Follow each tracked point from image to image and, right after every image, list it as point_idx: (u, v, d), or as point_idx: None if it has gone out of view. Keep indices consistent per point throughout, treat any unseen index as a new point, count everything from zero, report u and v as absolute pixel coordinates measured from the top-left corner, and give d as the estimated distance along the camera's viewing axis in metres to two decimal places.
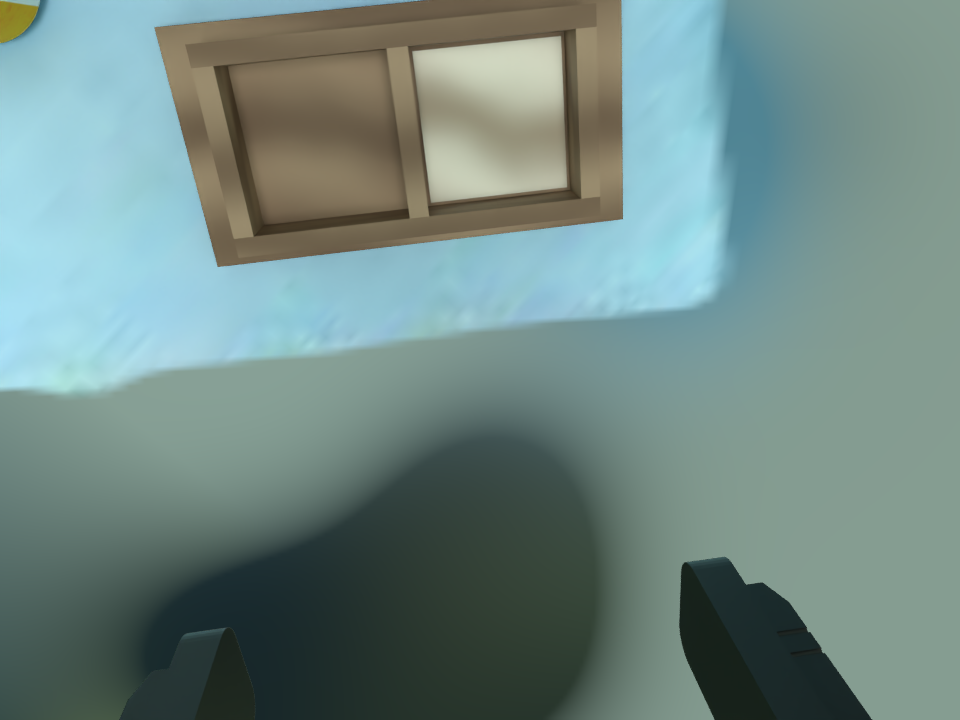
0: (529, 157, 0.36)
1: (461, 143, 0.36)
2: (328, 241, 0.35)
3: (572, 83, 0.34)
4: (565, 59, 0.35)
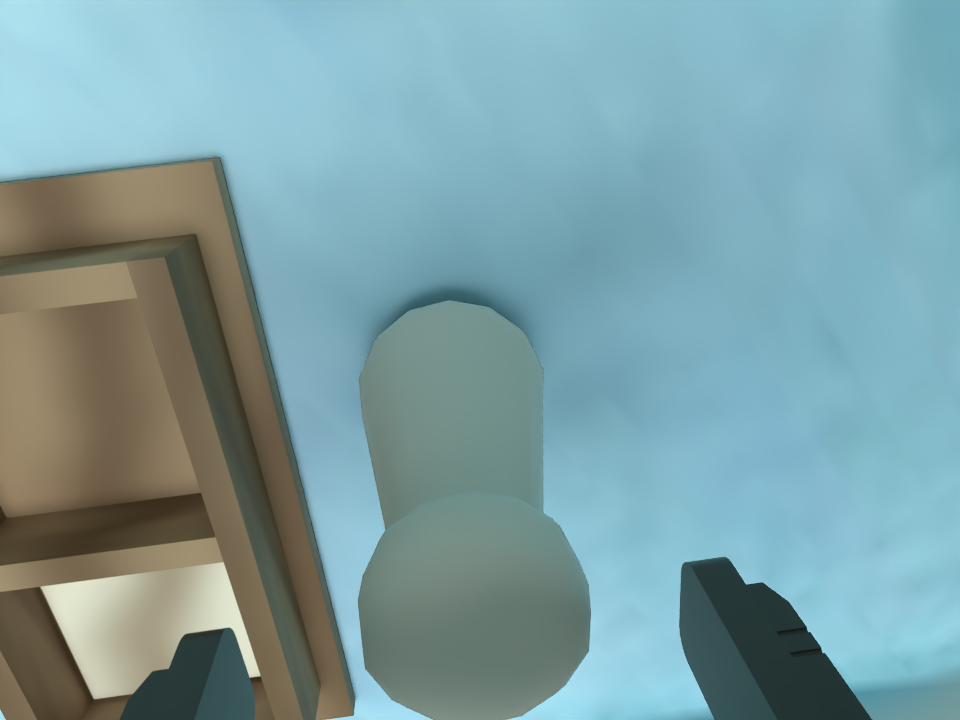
0: (124, 656, 0.26)
1: (123, 581, 0.25)
2: None
3: None
4: (258, 679, 0.27)
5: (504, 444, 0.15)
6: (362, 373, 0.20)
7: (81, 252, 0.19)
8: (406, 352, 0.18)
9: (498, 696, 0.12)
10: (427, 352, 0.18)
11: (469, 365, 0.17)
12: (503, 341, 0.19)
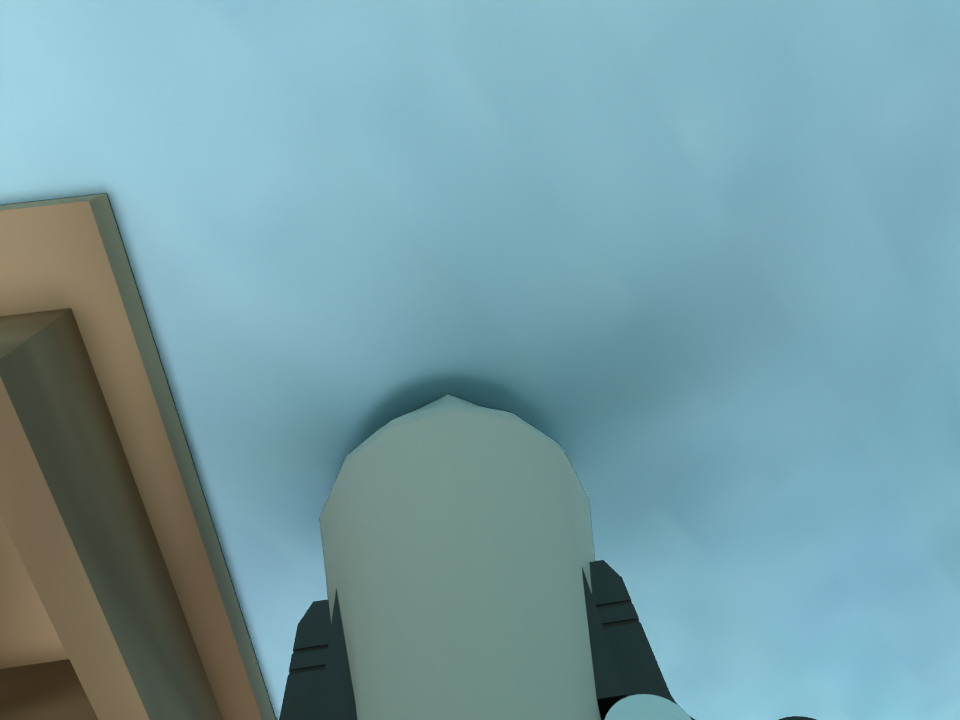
0: None
1: None
2: None
3: None
4: None
5: None
6: (324, 513, 0.14)
7: None
8: (388, 504, 0.12)
9: None
10: (421, 509, 0.11)
11: (488, 539, 0.11)
12: (536, 478, 0.12)
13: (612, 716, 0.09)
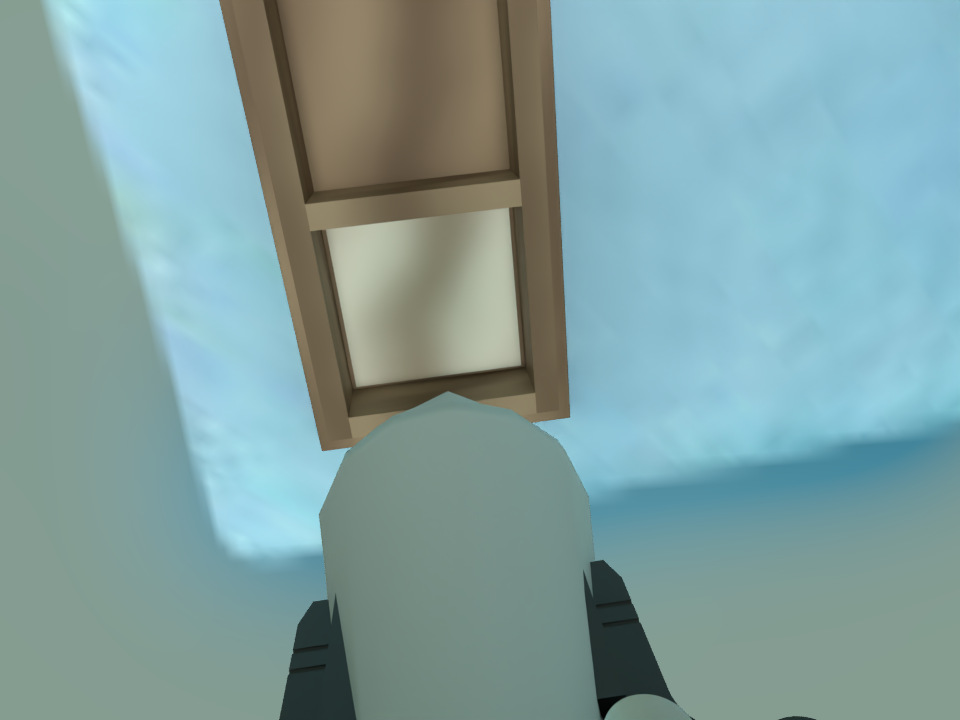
0: (389, 341, 0.30)
1: (402, 260, 0.28)
2: (258, 79, 0.23)
3: (476, 388, 0.30)
4: (497, 371, 0.31)
5: None
6: (323, 510, 0.14)
7: None
8: (387, 500, 0.12)
9: None
10: (421, 506, 0.11)
11: (488, 535, 0.11)
12: (536, 475, 0.12)
13: (612, 716, 0.09)
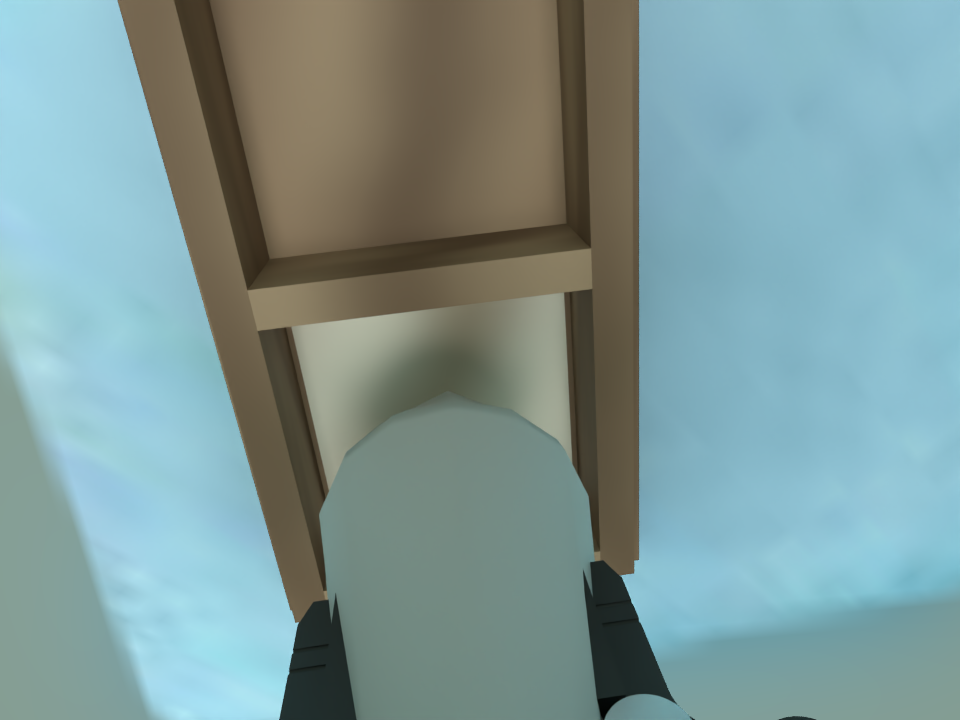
0: None
1: (404, 356, 0.19)
2: (161, 91, 0.14)
3: None
4: None
5: (560, 719, 0.09)
6: (323, 509, 0.14)
7: None
8: (388, 499, 0.12)
9: None
10: (421, 505, 0.11)
11: (488, 535, 0.11)
12: (536, 474, 0.12)
13: (612, 716, 0.09)
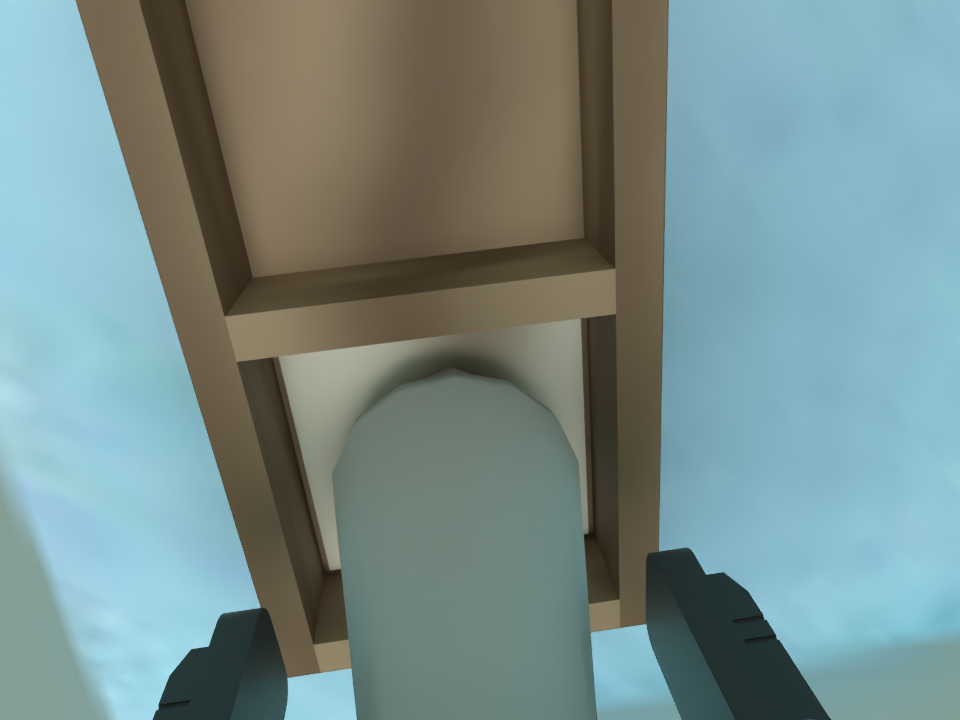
0: None
1: None
2: (121, 89, 0.12)
3: None
4: None
5: (545, 632, 0.10)
6: (336, 469, 0.15)
7: None
8: (396, 455, 0.13)
9: None
10: (425, 459, 0.13)
11: (486, 483, 0.12)
12: (530, 436, 0.14)
13: None
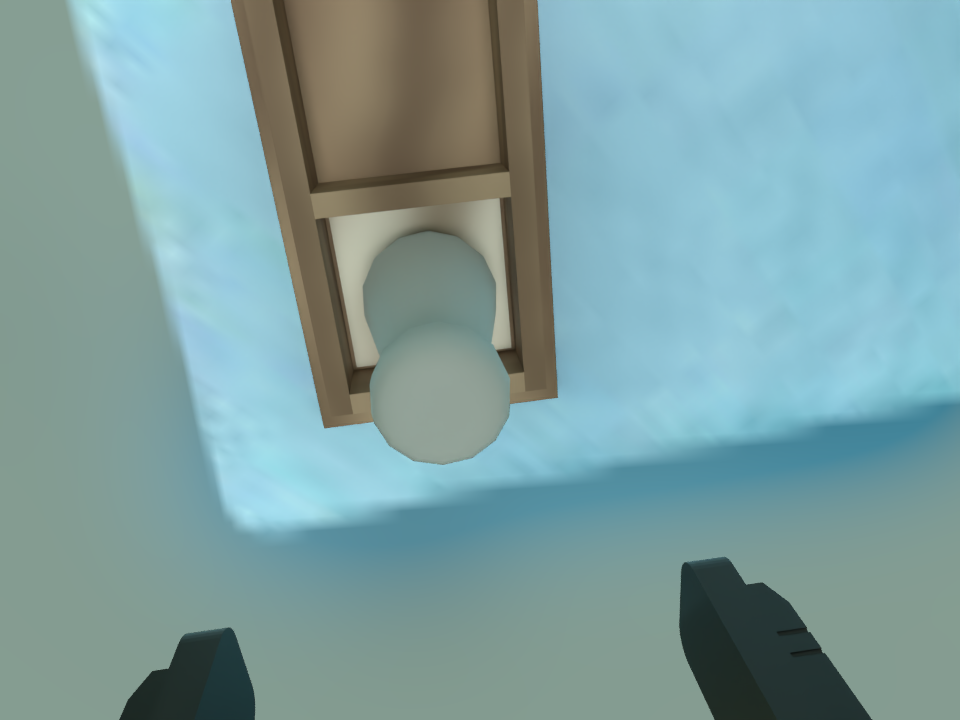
0: None
1: None
2: (268, 78, 0.25)
3: None
4: None
5: (462, 310, 0.23)
6: (365, 282, 0.28)
7: None
8: (397, 261, 0.26)
9: (453, 437, 0.20)
10: (412, 260, 0.26)
11: (441, 267, 0.25)
12: (466, 257, 0.27)
13: None
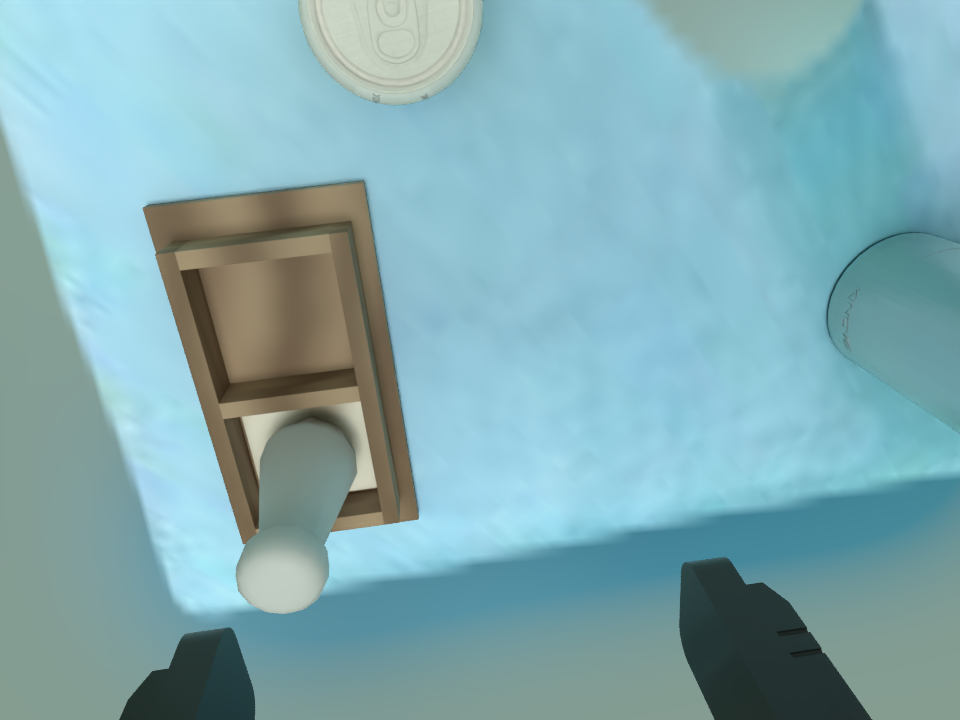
0: None
1: (291, 423, 0.42)
2: (185, 336, 0.37)
3: (345, 506, 0.44)
4: (363, 491, 0.45)
5: (309, 502, 0.35)
6: (261, 457, 0.40)
7: (295, 230, 0.37)
8: (277, 452, 0.38)
9: (287, 601, 0.32)
10: (286, 453, 0.38)
11: (304, 461, 0.37)
12: (327, 445, 0.39)
13: None
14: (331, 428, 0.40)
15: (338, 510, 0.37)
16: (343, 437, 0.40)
